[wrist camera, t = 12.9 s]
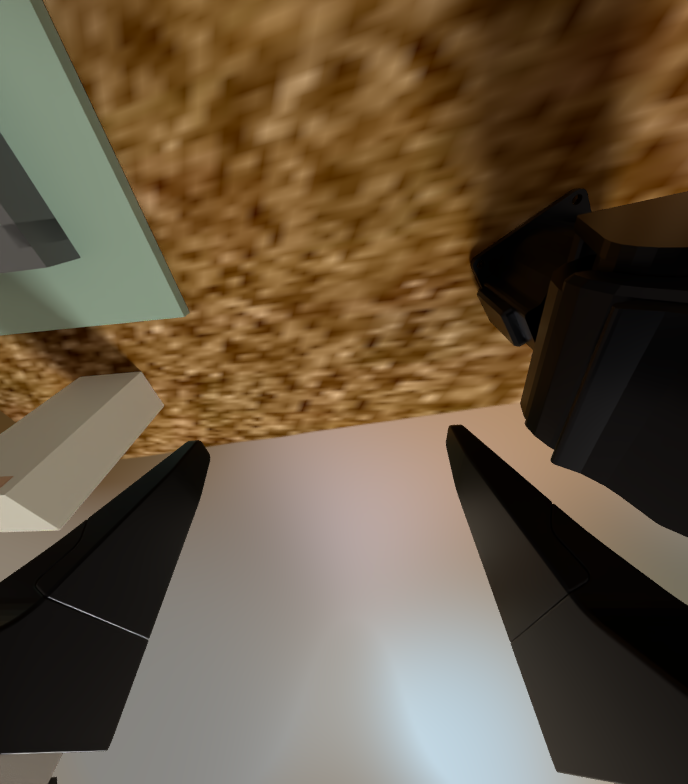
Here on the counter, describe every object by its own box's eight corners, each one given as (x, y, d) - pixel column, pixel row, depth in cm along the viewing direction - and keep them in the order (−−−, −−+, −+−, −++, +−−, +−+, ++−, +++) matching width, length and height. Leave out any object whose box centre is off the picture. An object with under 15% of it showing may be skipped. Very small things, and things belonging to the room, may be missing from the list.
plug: (140, 371, 24) (3, 494, 15) (164, 406, 27) (60, 530, 17) (79, 376, 25) (-91, 498, 15) (108, 410, 27) (-23, 533, 18)
